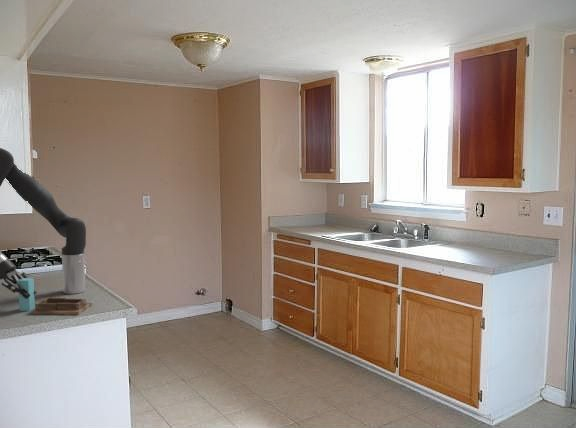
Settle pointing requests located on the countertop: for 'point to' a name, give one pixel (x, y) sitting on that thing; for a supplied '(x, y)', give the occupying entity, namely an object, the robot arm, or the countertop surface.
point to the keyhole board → (61, 306)
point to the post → (29, 287)
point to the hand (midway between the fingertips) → (31, 295)
